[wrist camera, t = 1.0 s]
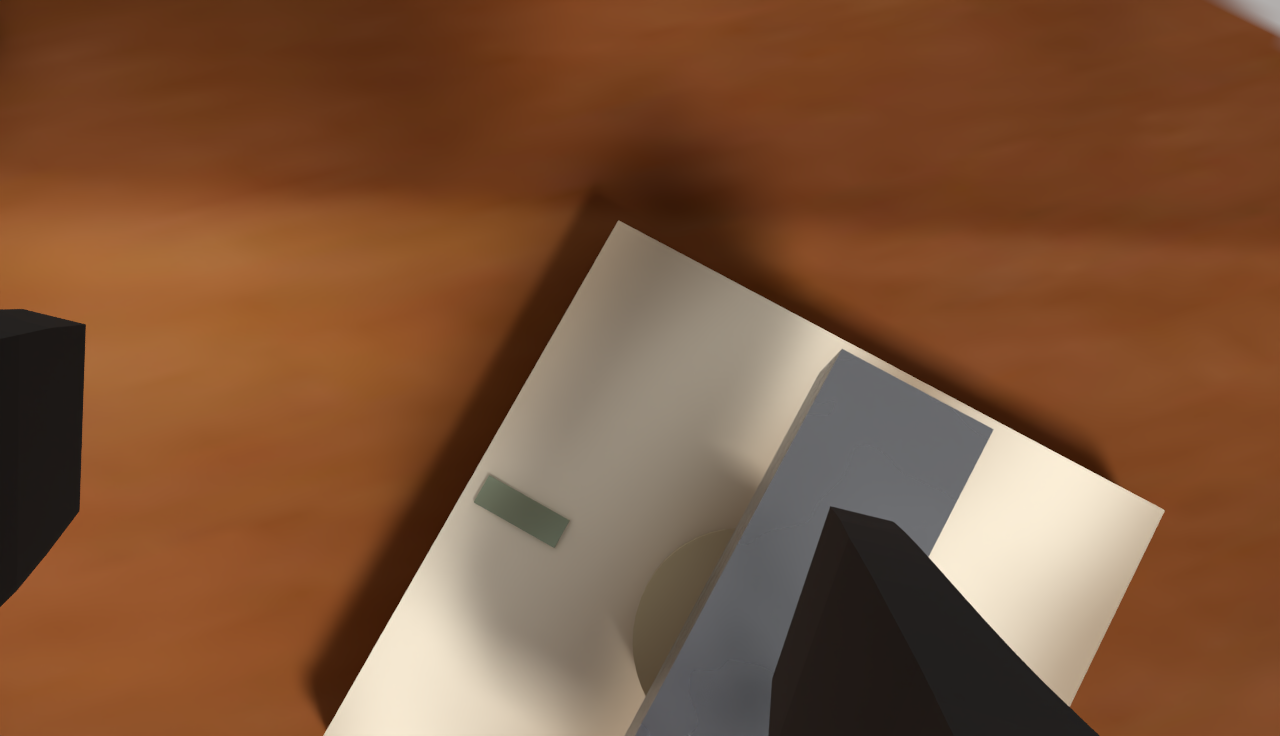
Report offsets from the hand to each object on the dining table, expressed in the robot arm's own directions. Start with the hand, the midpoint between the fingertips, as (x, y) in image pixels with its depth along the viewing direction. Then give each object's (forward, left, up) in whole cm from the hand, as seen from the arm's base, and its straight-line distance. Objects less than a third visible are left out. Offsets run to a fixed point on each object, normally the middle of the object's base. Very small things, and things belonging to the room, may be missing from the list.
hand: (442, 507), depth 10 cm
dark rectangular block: (-3, -3, -9) cm, 10 cm away
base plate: (-3, -3, -13) cm, 13 cm away
